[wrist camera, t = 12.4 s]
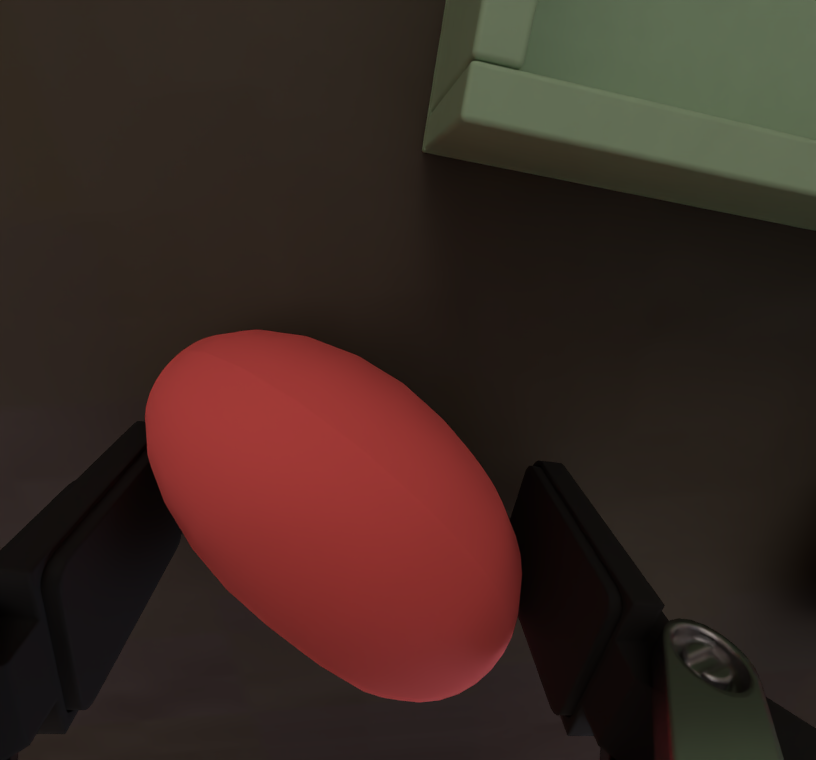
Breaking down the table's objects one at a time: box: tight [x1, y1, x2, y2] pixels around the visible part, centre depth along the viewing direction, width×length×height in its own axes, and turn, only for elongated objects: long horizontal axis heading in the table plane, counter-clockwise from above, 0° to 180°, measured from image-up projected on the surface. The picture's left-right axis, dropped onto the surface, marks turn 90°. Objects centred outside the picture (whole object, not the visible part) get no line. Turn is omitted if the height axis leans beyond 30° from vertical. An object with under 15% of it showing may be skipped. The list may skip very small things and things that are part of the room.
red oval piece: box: [145, 329, 522, 702], centre depth 9 cm, size 5×9×6 cm, turn 24°
